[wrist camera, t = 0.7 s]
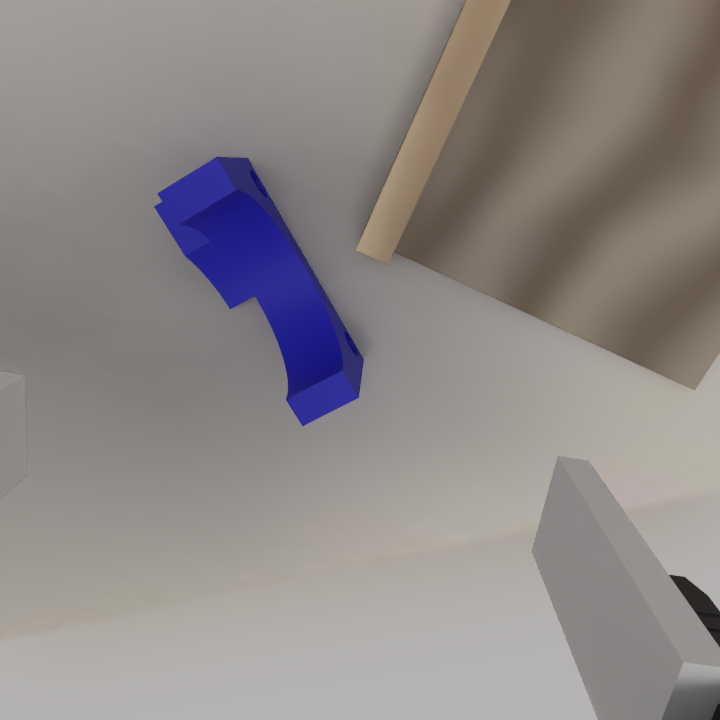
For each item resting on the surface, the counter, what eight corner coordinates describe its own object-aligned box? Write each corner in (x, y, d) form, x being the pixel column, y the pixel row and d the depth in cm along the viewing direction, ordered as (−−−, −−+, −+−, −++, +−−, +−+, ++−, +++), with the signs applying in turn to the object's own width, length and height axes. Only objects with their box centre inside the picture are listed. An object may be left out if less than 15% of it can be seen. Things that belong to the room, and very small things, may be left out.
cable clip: (175, 202, 32) (128, 211, 27) (248, 158, 31) (216, 156, 26) (293, 395, 35) (275, 439, 29) (363, 358, 34) (358, 397, 29)
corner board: (361, 235, 32) (355, 250, 26) (537, -163, 27) (578, -252, 21) (689, 386, 34) (751, 431, 28) (916, 40, 28) (1050, 8, 23)
